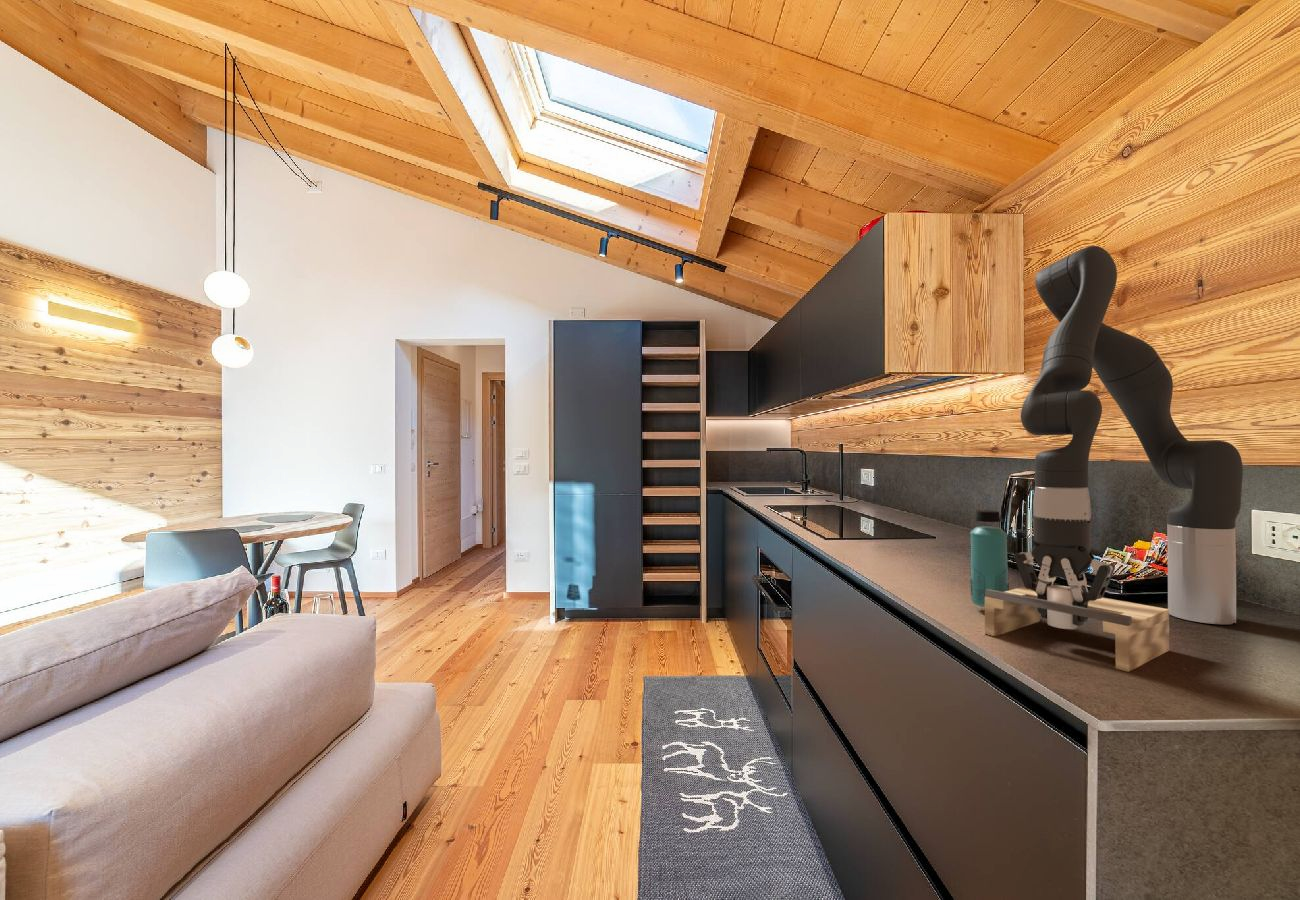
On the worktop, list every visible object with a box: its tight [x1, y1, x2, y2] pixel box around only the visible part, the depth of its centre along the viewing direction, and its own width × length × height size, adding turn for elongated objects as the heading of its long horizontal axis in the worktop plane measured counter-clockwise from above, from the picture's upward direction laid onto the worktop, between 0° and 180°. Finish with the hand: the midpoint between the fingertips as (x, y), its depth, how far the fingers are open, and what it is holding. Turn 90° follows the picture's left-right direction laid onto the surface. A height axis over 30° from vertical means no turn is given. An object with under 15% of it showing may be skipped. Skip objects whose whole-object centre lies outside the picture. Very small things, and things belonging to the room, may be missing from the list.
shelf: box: [984, 585, 1170, 673], centre depth 95 cm, size 16×20×8 cm
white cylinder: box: [1046, 584, 1079, 630], centre depth 93 cm, size 4×4×6 cm
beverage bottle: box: [969, 509, 1010, 608], centre depth 113 cm, size 6×7×20 cm
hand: (1062, 620), depth 93 cm, fingers closed on white cylinder, 4 cm apart
